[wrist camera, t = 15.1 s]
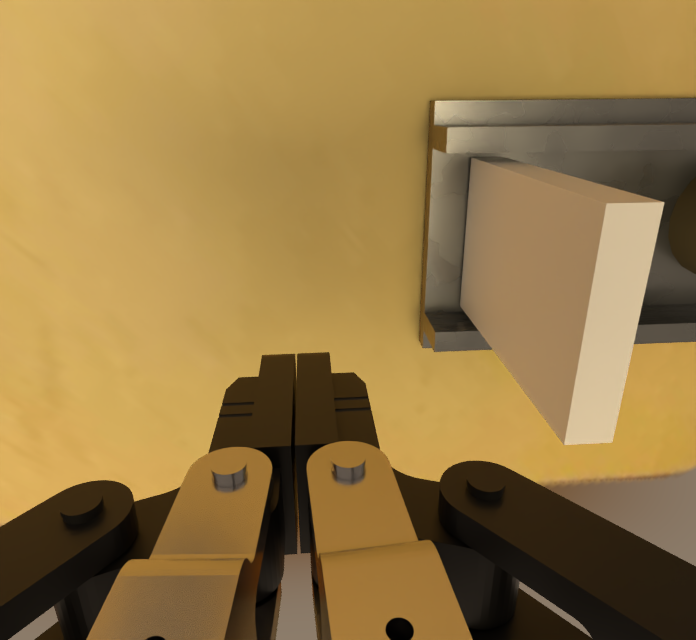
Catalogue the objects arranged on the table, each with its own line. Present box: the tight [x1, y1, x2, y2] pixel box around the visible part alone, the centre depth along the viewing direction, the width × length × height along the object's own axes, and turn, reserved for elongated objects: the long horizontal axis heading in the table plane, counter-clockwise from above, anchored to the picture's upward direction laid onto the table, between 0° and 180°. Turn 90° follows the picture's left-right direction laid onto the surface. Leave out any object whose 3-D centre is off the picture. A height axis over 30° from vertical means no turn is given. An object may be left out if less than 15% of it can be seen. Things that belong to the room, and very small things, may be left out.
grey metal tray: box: [419, 98, 696, 352], centre depth 25 cm, size 12×20×4 cm, turn 90°
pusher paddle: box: [460, 157, 664, 445], centre depth 20 cm, size 7×2×12 cm, turn 0°
